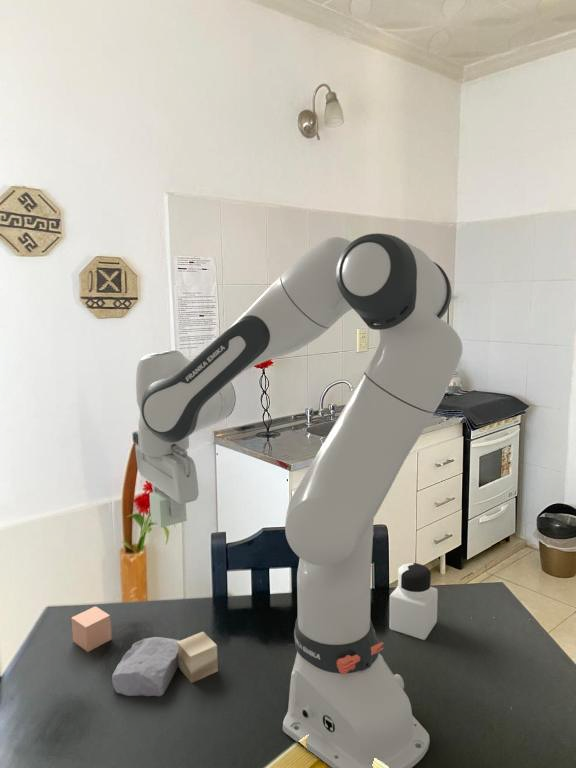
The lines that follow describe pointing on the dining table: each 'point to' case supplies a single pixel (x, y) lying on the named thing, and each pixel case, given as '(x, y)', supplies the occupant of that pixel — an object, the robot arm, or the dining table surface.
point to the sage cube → (164, 510)
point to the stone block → (147, 667)
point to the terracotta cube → (91, 628)
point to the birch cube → (197, 656)
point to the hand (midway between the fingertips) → (168, 511)
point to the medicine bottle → (413, 602)
